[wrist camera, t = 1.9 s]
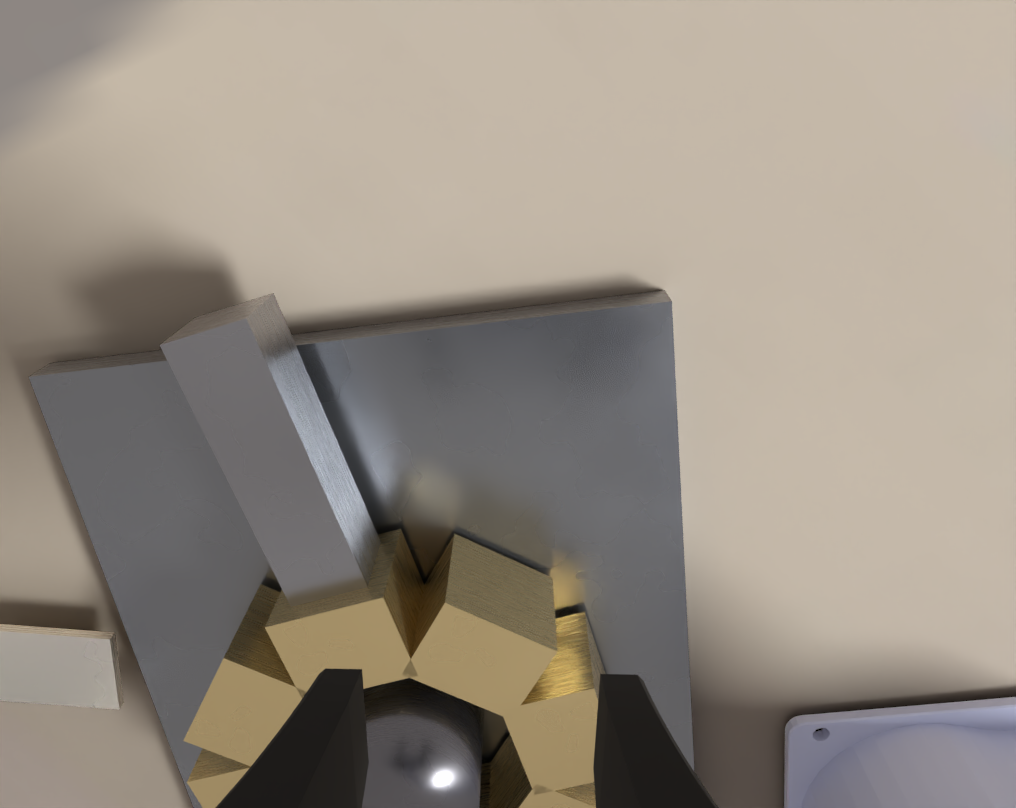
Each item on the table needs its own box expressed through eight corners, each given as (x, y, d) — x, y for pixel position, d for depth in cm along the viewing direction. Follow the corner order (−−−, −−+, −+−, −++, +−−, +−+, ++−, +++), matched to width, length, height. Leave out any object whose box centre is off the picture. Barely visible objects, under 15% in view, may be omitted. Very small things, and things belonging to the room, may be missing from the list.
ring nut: (643, 788, 25) (658, 878, 22) (316, 857, 26) (292, 951, 24) (459, 232, 18) (449, 262, 16) (34, 364, 20) (-45, 413, 17)
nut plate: (664, 290, 20) (708, 357, 15) (695, 891, 28) (729, 1050, 24) (-138, 385, 21) (-319, 473, 17) (120, 933, 30) (47, 1092, 25)
